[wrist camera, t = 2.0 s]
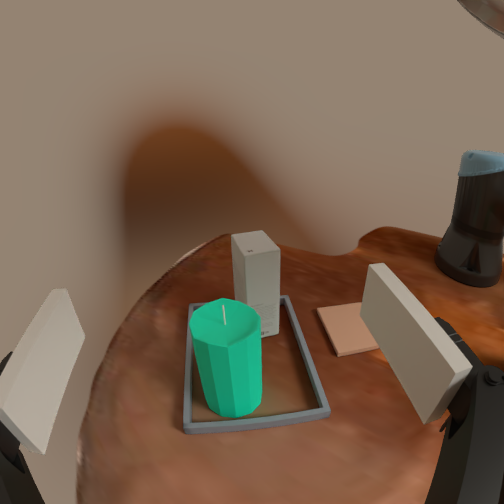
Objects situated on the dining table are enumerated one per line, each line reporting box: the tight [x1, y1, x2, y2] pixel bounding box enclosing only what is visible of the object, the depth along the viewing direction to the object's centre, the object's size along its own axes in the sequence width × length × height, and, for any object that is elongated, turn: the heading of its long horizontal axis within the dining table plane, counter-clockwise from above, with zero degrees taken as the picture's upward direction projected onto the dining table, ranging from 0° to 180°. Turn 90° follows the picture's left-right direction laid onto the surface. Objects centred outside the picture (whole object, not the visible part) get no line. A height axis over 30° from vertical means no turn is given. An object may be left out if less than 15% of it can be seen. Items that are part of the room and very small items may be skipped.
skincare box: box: [231, 230, 280, 338], centre depth 38 cm, size 6×4×12 cm
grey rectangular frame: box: [183, 295, 331, 434], centre depth 35 cm, size 14×20×1 cm
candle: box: [189, 298, 262, 418], centre depth 27 cm, size 6×6×12 cm
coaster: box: [317, 302, 380, 357], centre depth 38 cm, size 9×9×1 cm
